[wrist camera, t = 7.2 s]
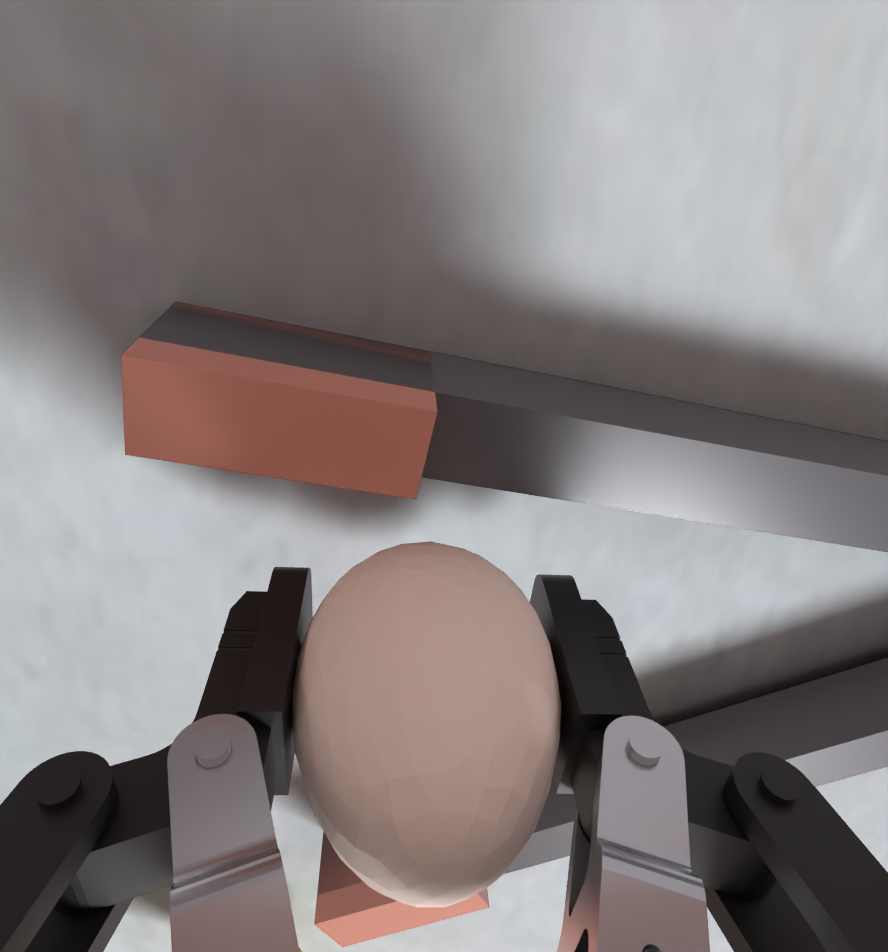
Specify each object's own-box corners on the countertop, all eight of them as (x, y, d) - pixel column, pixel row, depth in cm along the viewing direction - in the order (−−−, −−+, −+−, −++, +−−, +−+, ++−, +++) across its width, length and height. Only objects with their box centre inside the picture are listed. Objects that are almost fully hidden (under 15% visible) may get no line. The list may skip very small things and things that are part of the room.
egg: (341, 662, 16) (308, 990, 10) (288, 506, 13) (202, 828, 7) (533, 634, 15) (610, 949, 10) (518, 470, 13) (610, 770, 7)
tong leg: (1010, 619, 18) (1105, 702, 15) (1006, 659, 19) (1095, 742, 16) (323, 830, 21) (314, 924, 19) (348, 854, 22) (342, 947, 20)
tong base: (1228, 508, 17) (1391, 590, 14) (1098, 631, 19) (1216, 723, 16) (175, 302, 12) (111, 364, 9) (174, 497, 14) (122, 593, 12)
